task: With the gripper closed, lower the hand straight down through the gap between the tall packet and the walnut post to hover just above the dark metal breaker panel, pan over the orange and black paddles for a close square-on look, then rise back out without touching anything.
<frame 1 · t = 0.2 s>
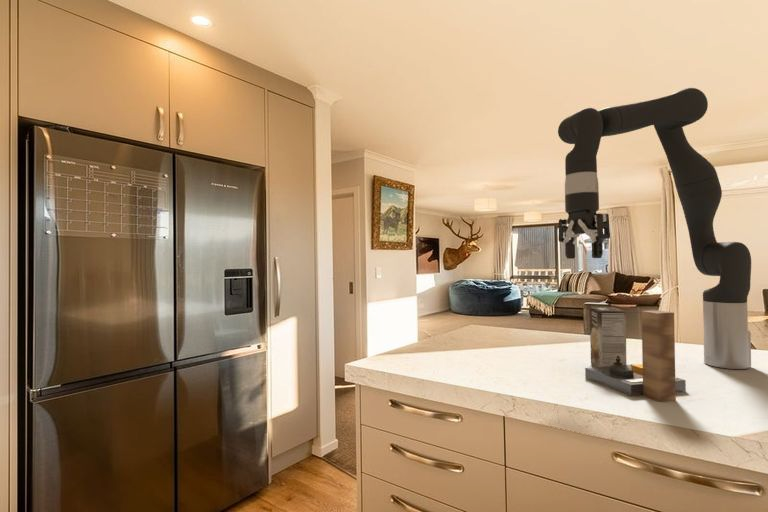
hand: (583, 258, 100), 29 cm above the table, fingers open, 8 cm apart
breaker panel: (632, 386, 94), on the table
coffee box: (608, 370, 107), on the table
walnut post: (659, 397, 85), on the table
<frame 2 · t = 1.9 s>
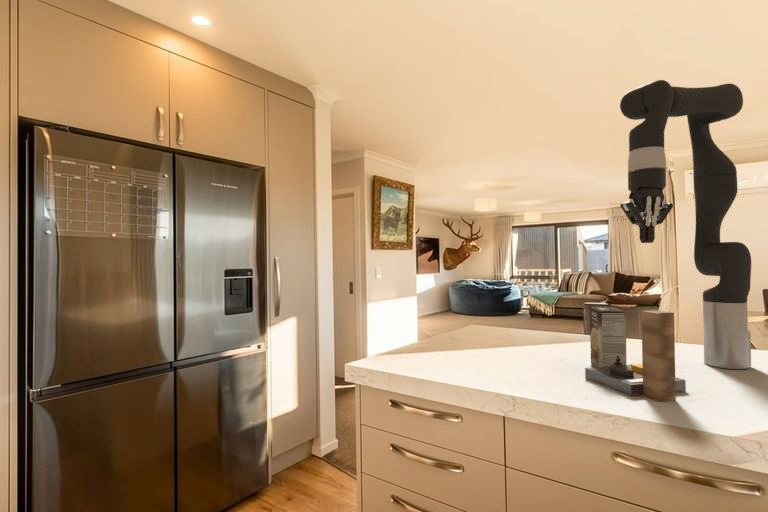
hand: (646, 242, 96), 33 cm above the table, fingers closed
nothing on the table moved.
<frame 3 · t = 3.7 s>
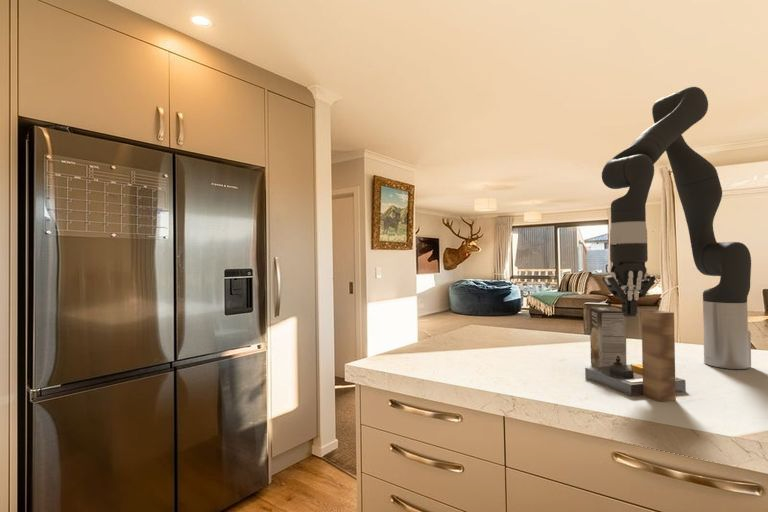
hand: (629, 316, 95), 16 cm above the table, fingers closed
nothing on the table moved.
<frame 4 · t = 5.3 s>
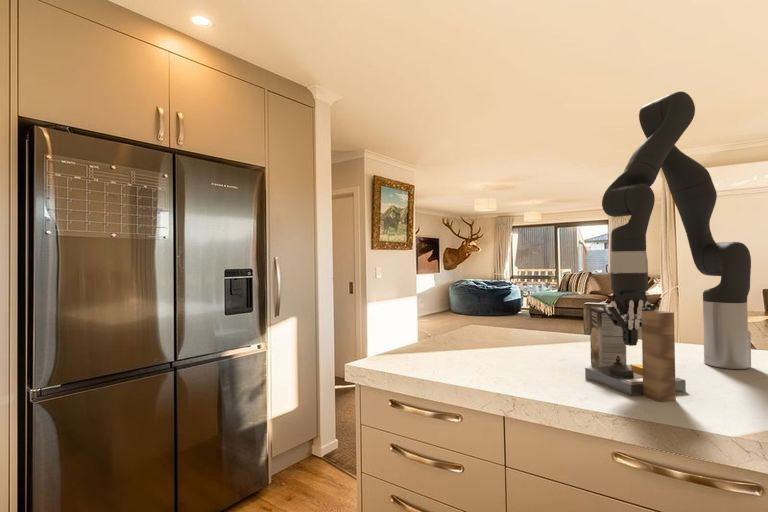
hand: (630, 344, 95), 9 cm above the table, fingers closed
nothing on the table moved.
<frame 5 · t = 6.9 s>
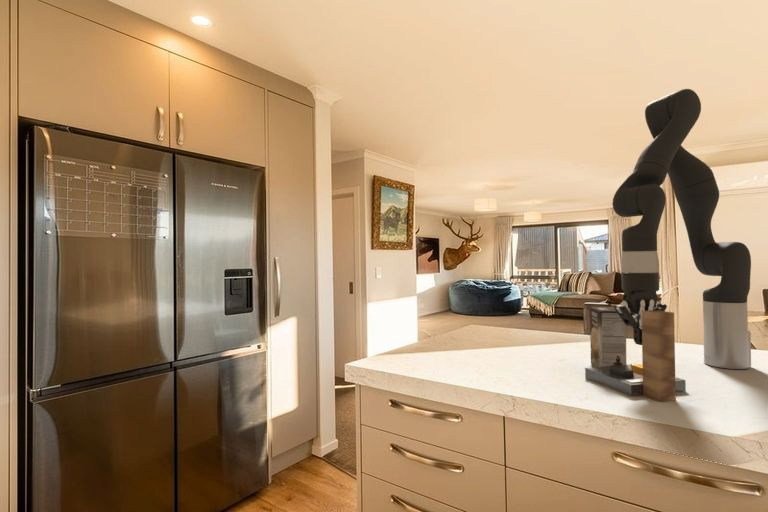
hand: (641, 344, 95), 9 cm above the table, fingers closed
nothing on the table moved.
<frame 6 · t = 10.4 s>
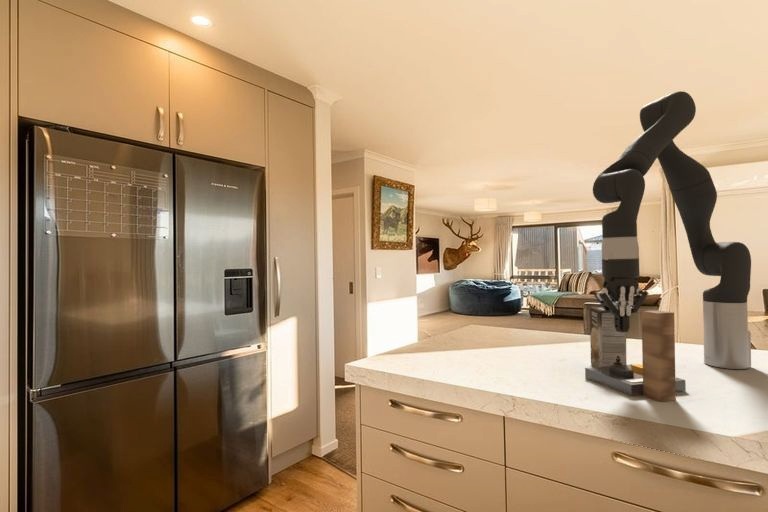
hand: (622, 331, 94), 12 cm above the table, fingers closed
nothing on the table moved.
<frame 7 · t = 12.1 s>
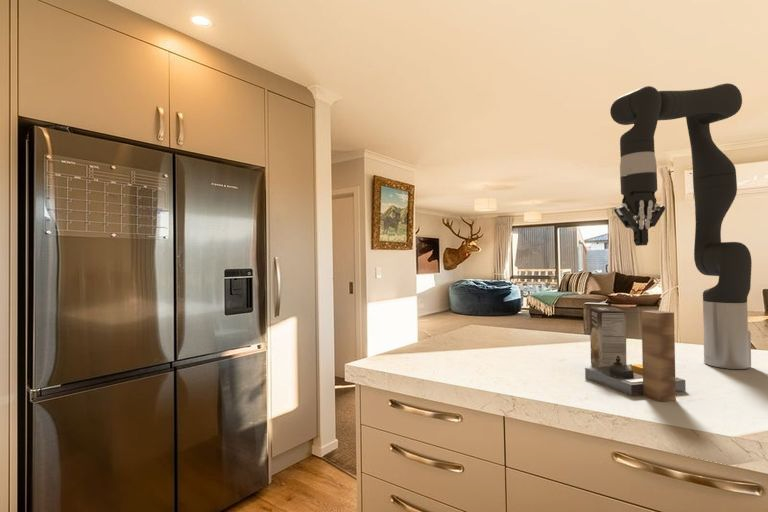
hand: (641, 245, 98), 32 cm above the table, fingers closed
nothing on the table moved.
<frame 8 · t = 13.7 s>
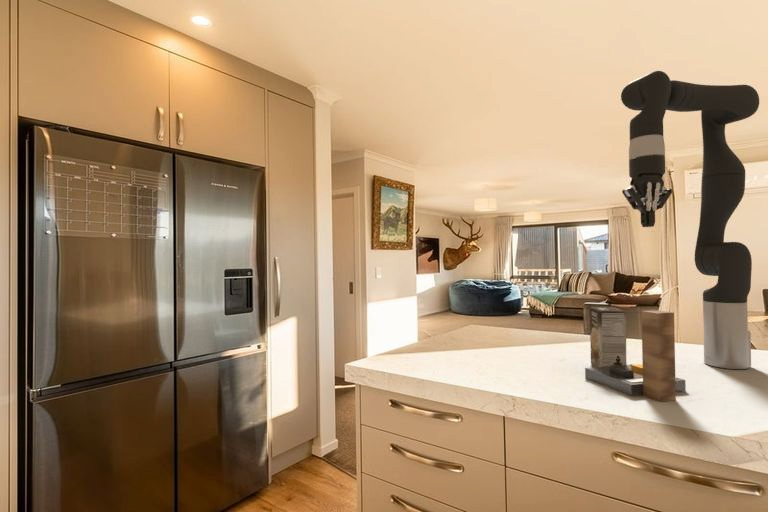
hand: (647, 226, 100), 37 cm above the table, fingers closed
nothing on the table moved.
at the end: breaker panel moved 0.5 cm from its start; coffee box moved 0.4 cm from its start; walnut post tilted 0° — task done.
